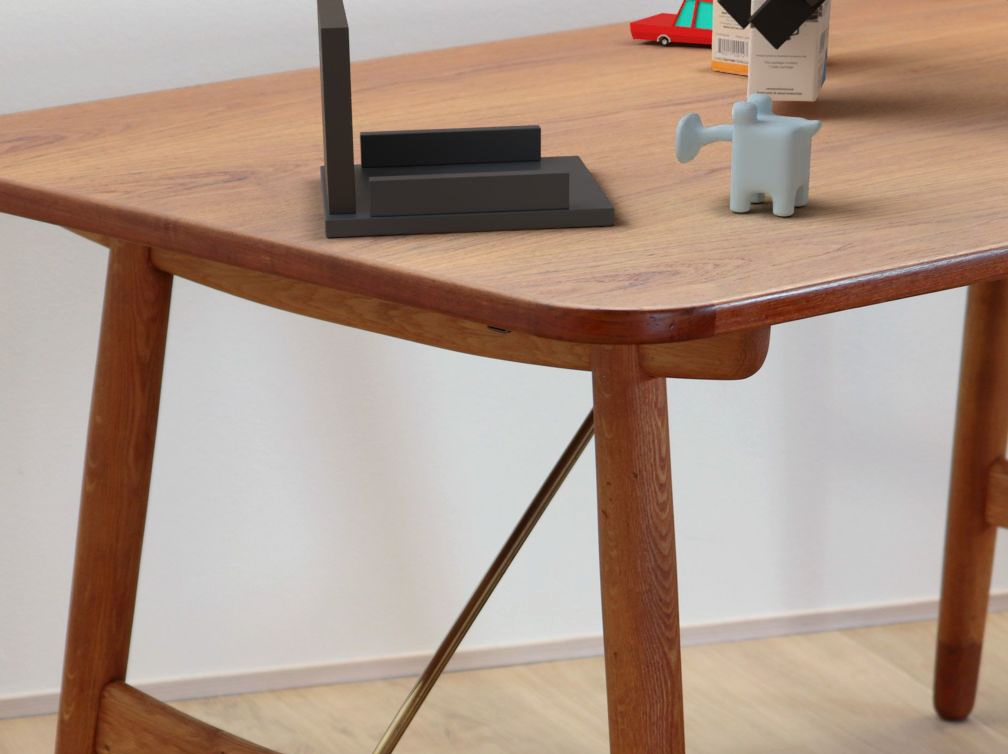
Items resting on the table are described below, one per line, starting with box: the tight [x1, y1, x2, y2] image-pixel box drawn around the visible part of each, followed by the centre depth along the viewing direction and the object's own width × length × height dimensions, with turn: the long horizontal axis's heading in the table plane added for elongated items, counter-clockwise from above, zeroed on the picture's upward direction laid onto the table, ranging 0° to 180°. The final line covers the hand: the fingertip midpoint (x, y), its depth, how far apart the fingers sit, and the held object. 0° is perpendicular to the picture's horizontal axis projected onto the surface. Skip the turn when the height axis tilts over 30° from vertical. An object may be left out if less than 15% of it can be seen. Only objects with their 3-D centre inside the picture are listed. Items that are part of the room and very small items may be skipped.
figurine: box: [674, 93, 823, 217], centre depth 109 cm, size 4×8×6 cm, turn 62°
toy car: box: [629, 0, 713, 47], centre depth 162 cm, size 6×12×4 cm, turn 57°
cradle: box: [316, 0, 616, 238], centre depth 110 cm, size 14×16×11 cm
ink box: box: [746, 0, 832, 102], centre depth 133 cm, size 9×5×12 cm, turn 164°
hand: (745, 24), depth 133 cm, fingers closed on ink box, 9 cm apart
